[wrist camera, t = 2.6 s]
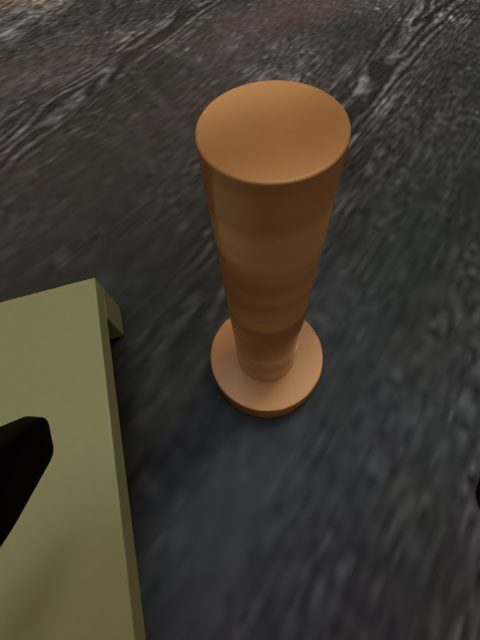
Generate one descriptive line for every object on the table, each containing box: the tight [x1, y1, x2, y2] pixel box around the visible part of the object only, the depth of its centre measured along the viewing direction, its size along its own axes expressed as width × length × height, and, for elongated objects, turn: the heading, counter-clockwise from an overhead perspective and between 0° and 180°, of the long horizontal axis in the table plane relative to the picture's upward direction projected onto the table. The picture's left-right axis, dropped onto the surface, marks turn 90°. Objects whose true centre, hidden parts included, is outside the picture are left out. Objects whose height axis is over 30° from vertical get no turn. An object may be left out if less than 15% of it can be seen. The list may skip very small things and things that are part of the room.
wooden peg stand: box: [195, 80, 351, 418], centre depth 13 cm, size 6×6×15 cm
